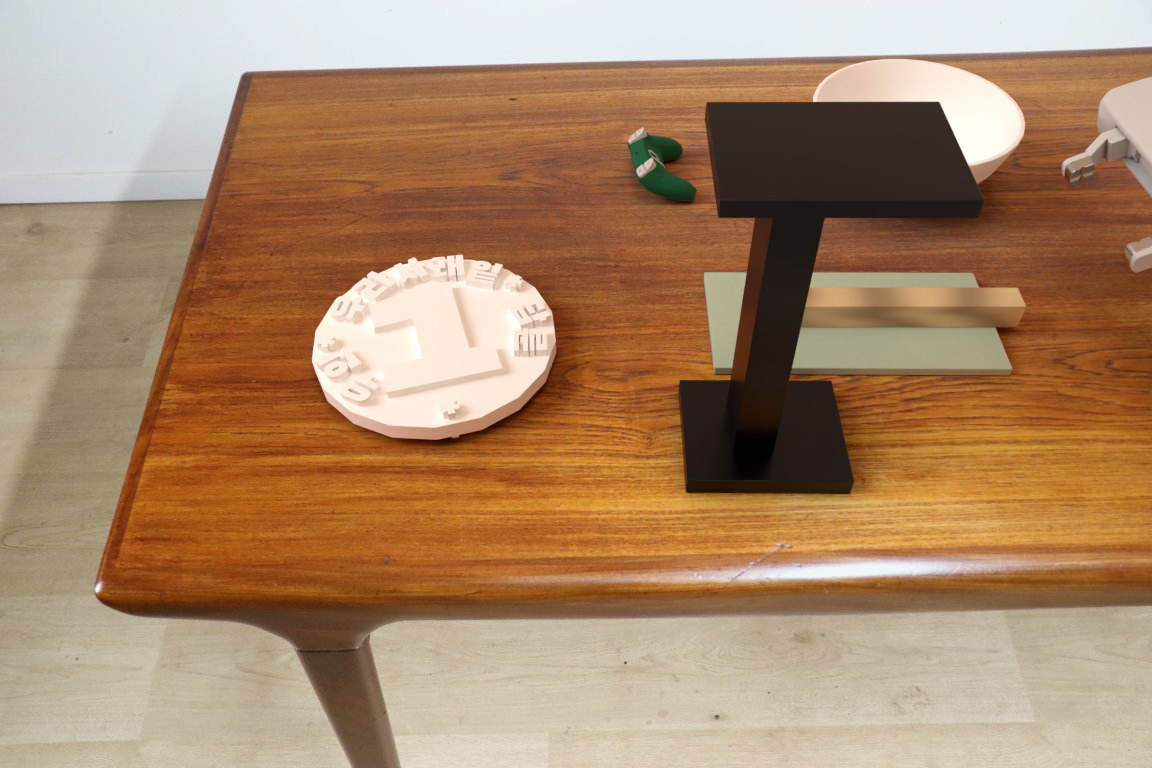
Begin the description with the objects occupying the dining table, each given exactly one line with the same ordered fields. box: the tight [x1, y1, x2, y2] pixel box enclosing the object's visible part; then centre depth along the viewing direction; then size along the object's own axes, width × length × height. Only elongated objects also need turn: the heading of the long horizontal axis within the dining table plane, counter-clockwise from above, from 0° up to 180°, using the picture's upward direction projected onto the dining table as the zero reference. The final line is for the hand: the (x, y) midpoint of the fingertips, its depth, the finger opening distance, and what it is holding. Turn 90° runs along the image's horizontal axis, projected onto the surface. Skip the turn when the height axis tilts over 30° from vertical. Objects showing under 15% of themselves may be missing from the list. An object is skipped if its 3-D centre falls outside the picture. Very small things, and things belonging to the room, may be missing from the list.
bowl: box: [812, 58, 1026, 186], centre depth 92 cm, size 20×19×8 cm
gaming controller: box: [627, 126, 698, 202], centre depth 95 cm, size 9×4×6 cm
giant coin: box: [311, 254, 557, 441], centre depth 78 cm, size 20×20×3 cm
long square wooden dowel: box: [741, 287, 1027, 328], centre depth 79 cm, size 23×2×5 cm, turn 89°
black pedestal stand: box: [677, 101, 986, 495], centre depth 63 cm, size 14×10×26 cm
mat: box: [703, 271, 1013, 376], centre depth 81 cm, size 24×12×1 cm, turn 89°
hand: (1095, 215), depth 71 cm, fingers open, 8 cm apart
